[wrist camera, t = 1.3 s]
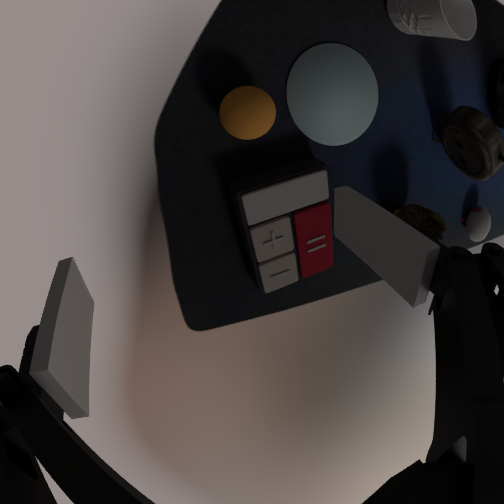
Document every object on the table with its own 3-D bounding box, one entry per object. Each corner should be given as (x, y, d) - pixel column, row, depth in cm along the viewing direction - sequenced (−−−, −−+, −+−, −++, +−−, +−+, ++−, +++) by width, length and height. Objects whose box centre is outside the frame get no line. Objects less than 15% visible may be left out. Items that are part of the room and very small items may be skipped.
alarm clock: (455, 152, 44) (531, 187, 30) (438, 168, 44) (515, 209, 31) (440, 97, 37) (528, 123, 24) (420, 112, 38) (512, 143, 24)
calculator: (262, 299, 41) (237, 195, 32) (252, 279, 44) (226, 181, 35) (337, 268, 42) (332, 166, 33) (322, 251, 46) (313, 154, 37)
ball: (254, 78, 30) (273, 78, 25) (270, 123, 33) (291, 131, 28) (206, 97, 29) (217, 99, 25) (225, 142, 32) (239, 153, 28)
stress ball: (459, 224, 58) (484, 233, 55) (456, 241, 53) (484, 250, 50) (466, 193, 54) (493, 202, 51) (465, 207, 49) (495, 217, 45)
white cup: (373, -6, 27) (430, -15, 19) (407, -18, 26) (461, -24, 18) (398, 45, 31) (455, 48, 23) (429, 29, 31) (483, 32, 23)
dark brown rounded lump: (369, 223, 45) (403, 249, 38) (396, 183, 43) (434, 204, 36) (392, 242, 48) (424, 268, 42) (417, 207, 46) (452, 228, 40)
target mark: (363, 35, 30) (364, 35, 30) (385, 127, 37) (386, 127, 37) (270, 57, 29) (271, 57, 29) (304, 160, 36) (305, 161, 36)
